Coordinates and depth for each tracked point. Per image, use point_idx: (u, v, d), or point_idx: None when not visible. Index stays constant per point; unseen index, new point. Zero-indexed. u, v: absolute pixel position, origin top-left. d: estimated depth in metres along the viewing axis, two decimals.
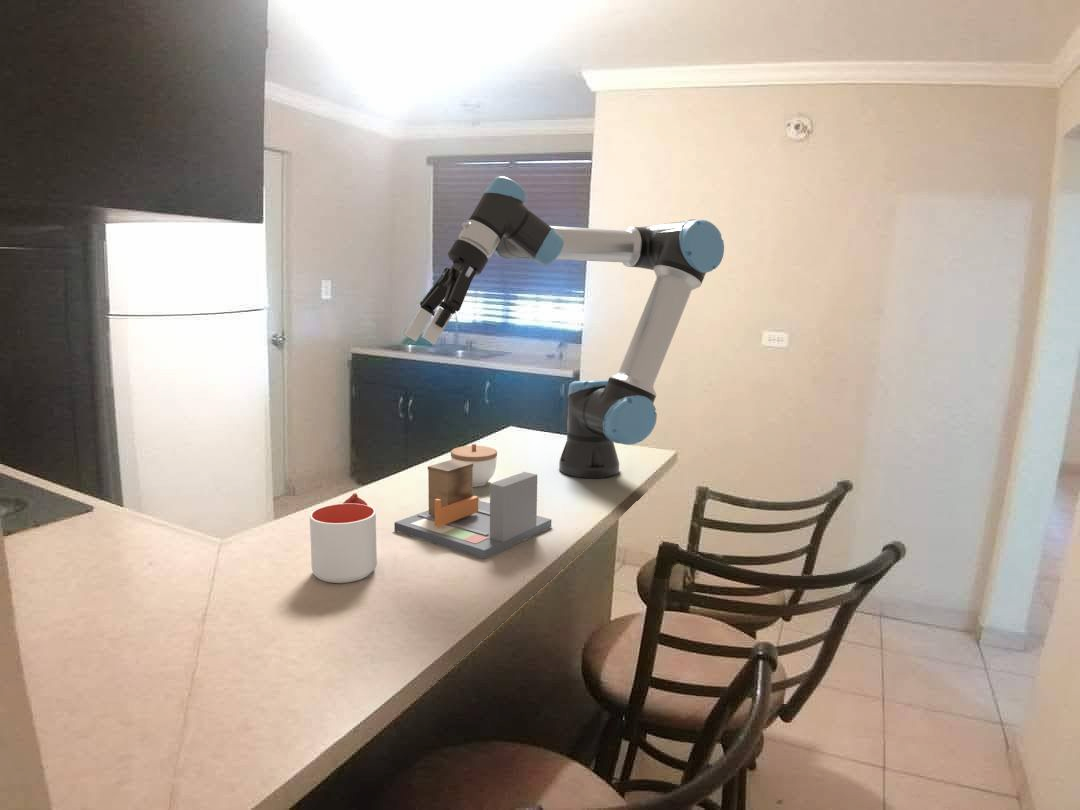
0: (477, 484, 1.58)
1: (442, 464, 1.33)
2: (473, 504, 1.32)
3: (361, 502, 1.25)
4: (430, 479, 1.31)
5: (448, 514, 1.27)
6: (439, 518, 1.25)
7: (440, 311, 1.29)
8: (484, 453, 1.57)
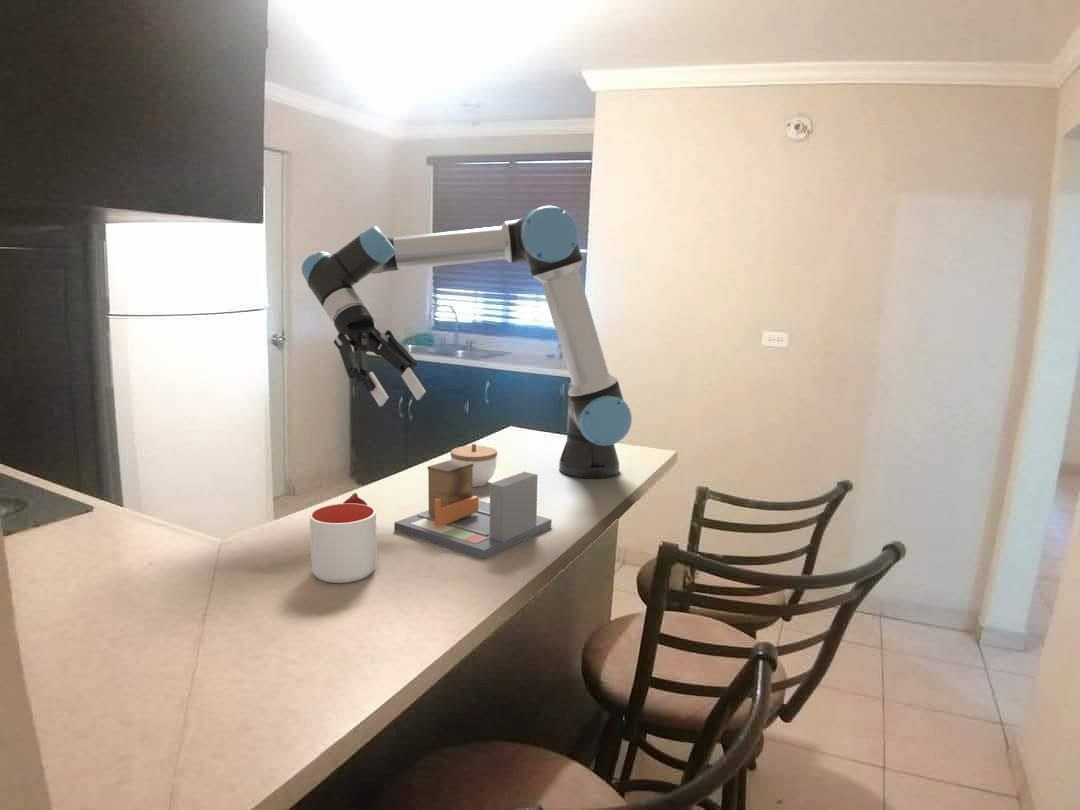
0: (477, 484, 1.58)
1: (442, 464, 1.33)
2: (473, 504, 1.32)
3: (361, 502, 1.25)
4: (430, 479, 1.31)
5: (448, 514, 1.27)
6: (439, 518, 1.25)
7: None
8: (484, 453, 1.57)
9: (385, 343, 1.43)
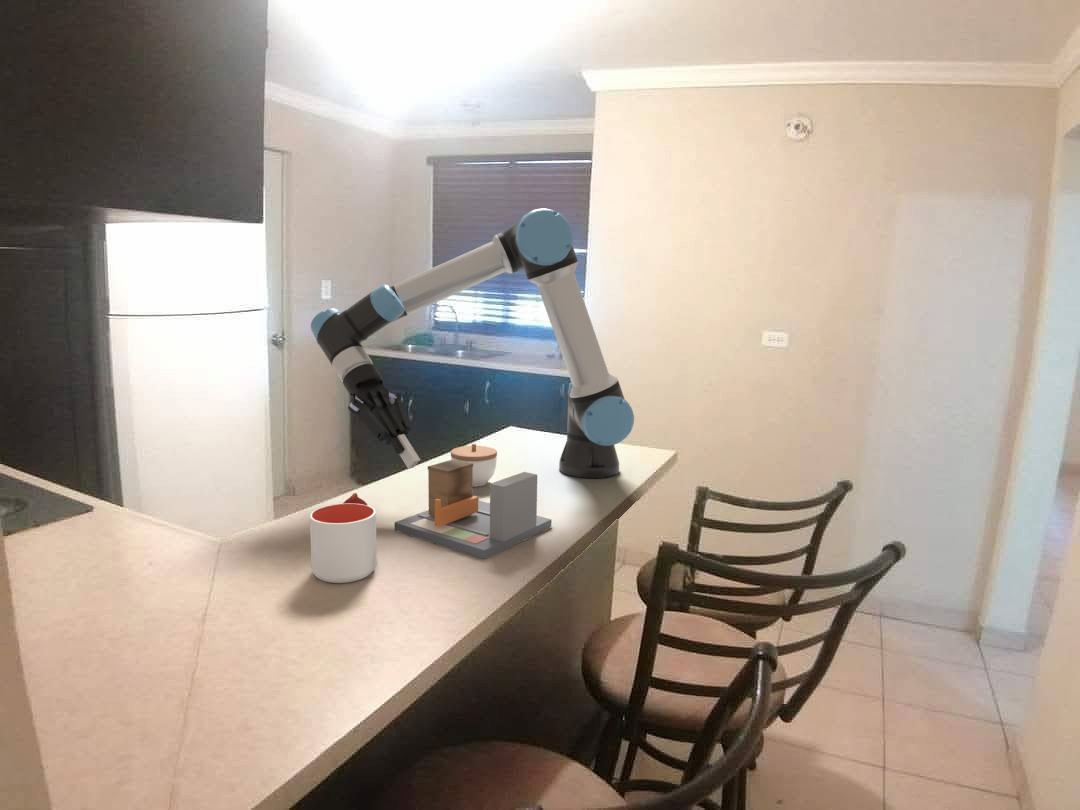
0: (477, 484, 1.58)
1: (442, 464, 1.33)
2: (473, 504, 1.32)
3: (361, 502, 1.25)
4: (430, 479, 1.31)
5: (448, 514, 1.27)
6: (439, 518, 1.25)
7: None
8: (484, 453, 1.57)
9: (388, 404, 1.42)
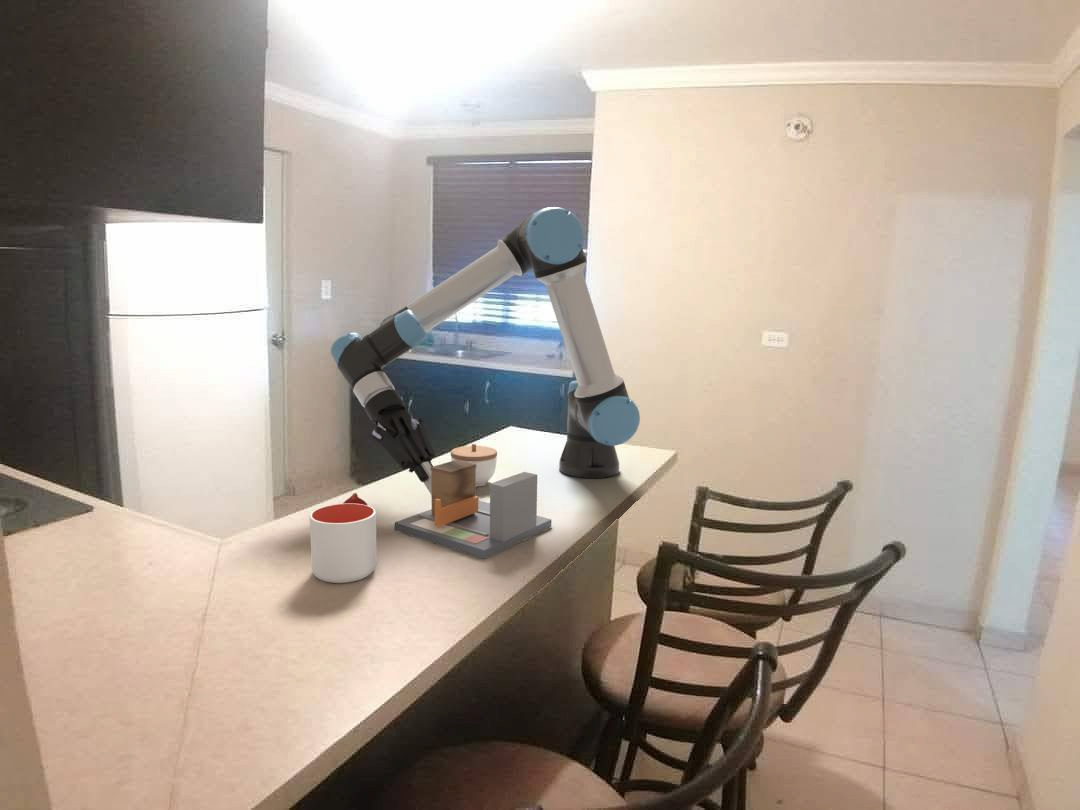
0: (477, 484, 1.58)
1: (445, 465, 1.32)
2: (473, 504, 1.32)
3: (361, 502, 1.25)
4: (433, 480, 1.31)
5: (448, 514, 1.27)
6: (439, 518, 1.25)
7: None
8: (484, 453, 1.57)
9: (411, 430, 1.39)
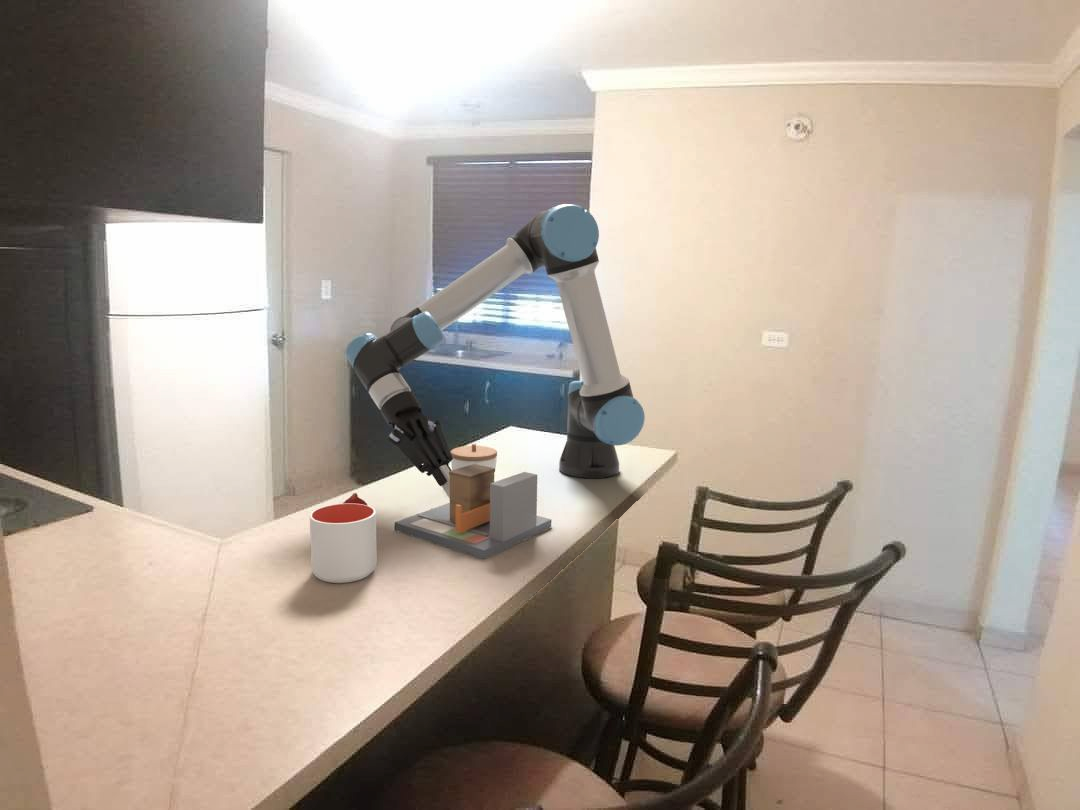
0: None
1: (463, 469, 1.30)
2: None
3: (361, 502, 1.25)
4: (452, 484, 1.28)
5: (468, 520, 1.24)
6: (460, 524, 1.22)
7: None
8: (484, 453, 1.57)
9: (429, 433, 1.36)
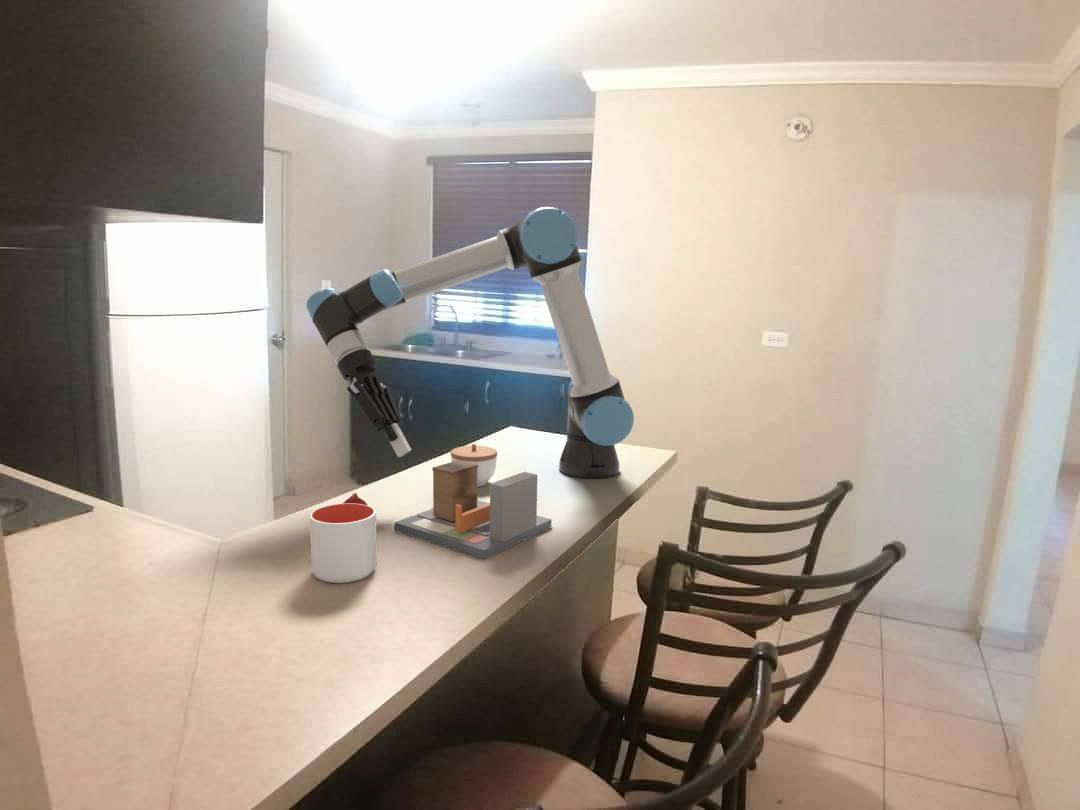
0: (477, 484, 1.58)
1: (447, 465, 1.32)
2: None
3: (361, 502, 1.25)
4: (435, 480, 1.30)
5: (468, 520, 1.24)
6: (460, 524, 1.22)
7: None
8: (484, 453, 1.57)
9: (382, 392, 1.44)
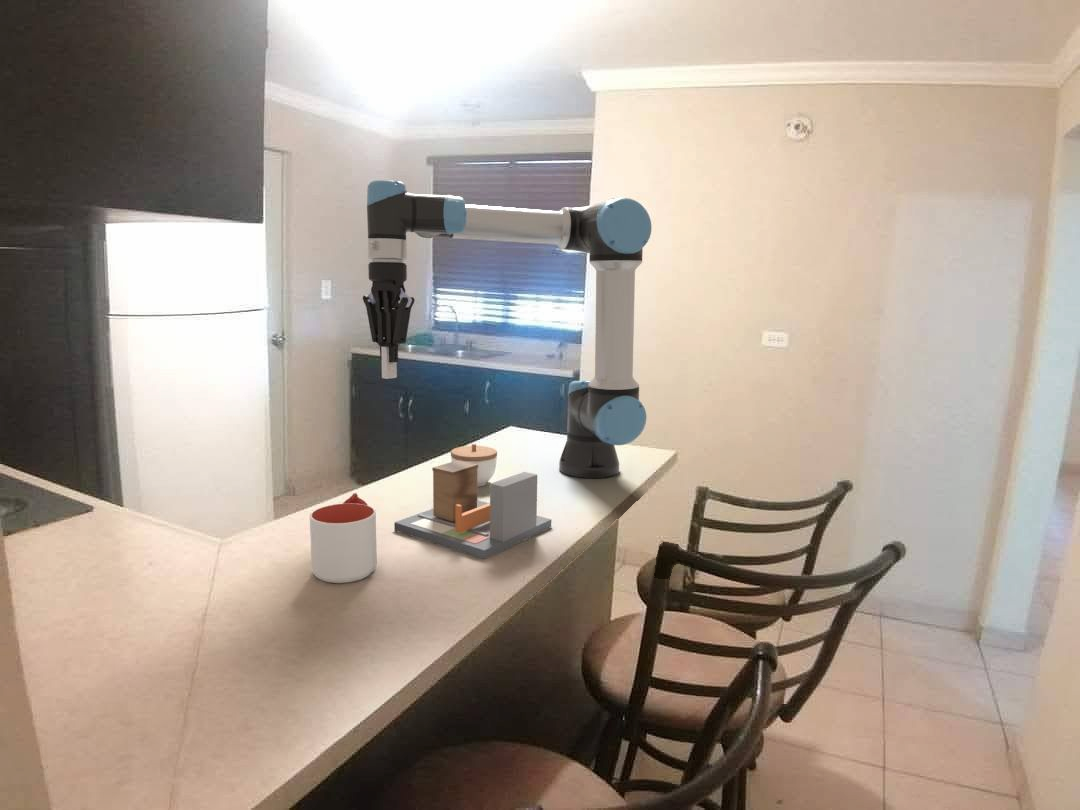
0: (477, 484, 1.58)
1: (447, 465, 1.32)
2: None
3: (361, 502, 1.25)
4: (435, 480, 1.30)
5: (468, 520, 1.24)
6: (460, 524, 1.22)
7: (387, 350, 1.40)
8: (484, 453, 1.57)
9: None
